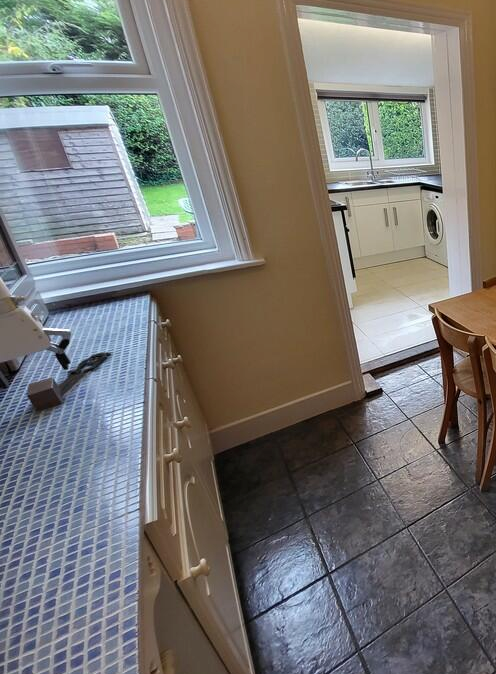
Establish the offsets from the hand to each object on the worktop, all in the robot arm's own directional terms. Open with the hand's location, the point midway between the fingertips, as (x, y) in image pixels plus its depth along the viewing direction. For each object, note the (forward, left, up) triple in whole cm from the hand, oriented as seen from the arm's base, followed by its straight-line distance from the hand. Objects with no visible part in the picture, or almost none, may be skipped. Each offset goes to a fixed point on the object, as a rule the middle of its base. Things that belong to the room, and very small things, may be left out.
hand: (37, 376), depth 93 cm
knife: (+8, +8, -7) cm, 13 cm away
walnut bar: (0, 0, -7) cm, 7 cm away
